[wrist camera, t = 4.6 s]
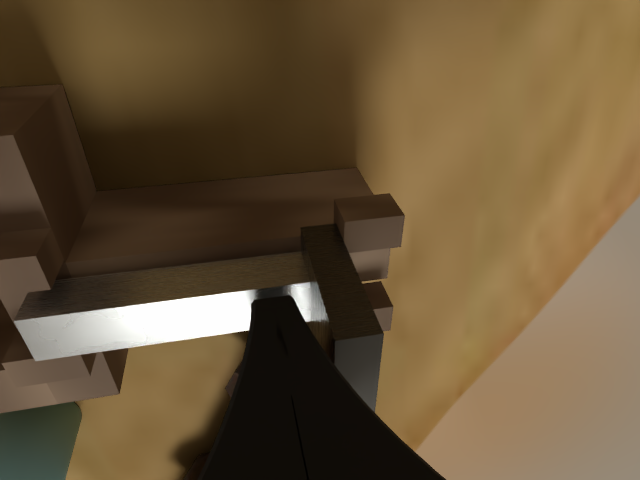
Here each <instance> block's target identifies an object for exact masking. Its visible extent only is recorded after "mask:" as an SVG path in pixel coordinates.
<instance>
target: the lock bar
mask: <svg viewBox="0 0 640 480" xmlns="http://www.w3.org/2000/svg"><path fill="white" fill-rule="evenodd" d="M300 230H301V251H296V252H288V253H279V254H271V255H262V256H254V257H246V258H237V259H229V260H220V261H212V262H204V263H195V264H187V265H178V266H170V267H162V268H153V269H145V270H136V271H128V272H120V273H111V274H103V275H94V276H86V277H78V278H69V279H61V280H55V282H54V284H53V286H52V288H51V290H43V291H35V292H28V293H27V295H26V297H25V299H24V301H23V303H22V305H21V307H20V309H19V311H18V313H17V315H16V317H15V319H14V323H15V325H16V327H17V328H18V330H19V332H20V334H21V336H22V338H23V339H24V341H25V343H26V345H27V347H28V349H29V350H30V352H31V354H32V356H33V358H34V360H35V361H41V360H48V359H55V358H62V357H69V356H76V355H82V354H89V353H96V352H103V351H110V350H117V349H124V348H130V347H137V346H144V345H151V344H158V343H165V342H172V341H179V340H185V339H192V338H199V337H206V336H213V335H220V334H227V333H233V332H240V331H247V330H249V327H250V320H251V303H252V302H253V301H254V300H256V299H263V298H271V297H278V296H285V295H290V296H292V297H293V298H294V300H295V302H296V304H297V306H298V309H299V311H300V313H301V314H302V316H303V318H304V320H305V322H306V323H307V325H308V327H309V328H310V330H311V331H312V333H313V335H314V336H315V338H316V339H317V341H318V342H319V344H320V345H321V347H322V348H323V349H324V351H325V352H326V354H327V355H328V357H329V358H330V359H331V361H332V362H333V364H334V365H335V366H336V367H337V369H338V370H339V371H340V373H341V374H342V375H343V376H344V378H345V379H346V380H347V381H348V383H349V384H350V385H351V386H352V388H353V389H354V390H355V391H356V392H357V394H358V395H359V396H360V397H361V398H362V399H363V400H364V402H365V403H366V404H367V405H368V406H369V407H370V408H371V409H372V410H373V411H374V412H375V406H376V397H377V388H378V379H379V371H380V362H381V353H382V345H383V336H384V333H383V331H382V328H381V326H380V324H379V321H378V319H377V317H376V314H375V312H374V310H373V308H372V305H371V303H370V301H369V298H368V296H367V294H366V291H365V289H364V287H363V284H362V282H361V280H360V277H359V275H358V273H357V271H356V268H355V266H354V264H353V261H352V259H351V257H350V254H349V252H348V250H347V247H346V245H345V243H344V240H343V238H342V236H341V233H340V231H339V229H338V227H337V224H336V223H334V224H325V225H316V226H307V227H300Z"/></svg>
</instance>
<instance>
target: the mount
mask: <svg viewBox="0 0 640 480" xmlns="http://www.w3.org/2000/svg"><path fill="white" fill-rule="evenodd" d="M404 218H405V215H404V214H403V212H402V211H401V209H400V208H399V206H398V205H397V203H396V202H395V200H394V199H393V198H392V196H391V195H390V193H389V194H379V195H373V193H372V191H371V190H370V188H369V186H368V185H367V183H366V182H365V180H364V178H363V177H362V175H361V174H360V172H359V170H358V169H357V168H349V169H338V170H327V171H316V172H305V173H294V174H283V175H272V176H261V177H249V178H238V179H227V180H216V181H205V182H194V183H183V184H172V185H161V186H150V187H138V188H127V189H116V190H105V191H97V190H96V187H95V184H94V181H93V178H92V175H91V171H90V168H89V165H88V162H87V159H86V156H85V153H84V150H83V147H82V144H81V141H80V137H79V134H78V131H77V128H76V125H75V122H74V119H73V116H72V113H71V110H70V107H69V103H68V100H67V97H66V94H65V91H64V88H63V85H62V84H60V85H41V86H22V87H3V88H0V413H5V412H11V411H18V410H24V409H30V408H36V407H42V406H49V405H55V404H61V403H67V402H73V401H80V400H86V399H92V398H98V397H104V396H111V395H117V394H120V389H121V384H122V379H123V373H124V368H125V363H126V358H127V353H128V348H124V349H117V350H110V351H103V352H96V353H89V354H82V355H76V356H69V357H62V358H55V359H48V360H41V361H35V360H34V358H33V356H32V354H31V352H30V350H29V349H28V347H27V345H26V343H25V341H24V339H23V338H22V336H21V334H20V332H19V330H18V328H17V327H16V325H15V323H14V319H15V317H16V315H17V313H18V311H19V309H20V307H21V305H22V303H23V301H24V299H25V297H26V295H27V293H28V292H35V291H43V290H51V288H52V286H53V284H54V282H55V280H61V279H69V278H78V277H86V276H94V275H103V274H111V273H120V272H128V271H136V270H145V269H153V268H162V267H170V266H178V265H187V264H195V263H204V262H212V261H220V260H229V259H237V258H246V257H254V256H262V255H271V254H279V253H288V252H296V251H301V230H300V227H307V226H316V225H325V224H334V223H336V224H337V227H338V229H339V231H340V233H341V236H342V238H343V240H344V243H345V245H346V247H347V250H348V252H349V254H350V257H351V259H352V261H353V264H354V266H355V268H356V271H357V273H358V275H359V277H360V280H361V282H362V281H369V280H377V279H384V278H387V275H388V265H389V256H390V248H395V247H401V241H402V233H403V225H404ZM363 287H364V289H365V291H366V294H367V296H368V298H369V301H370V303H371V305H372V308H373V310H374V312H375V314H376V317H377V319H378V321H379V324H380V326H381V328H382V331H389V330H390V329H391V321H392V313H393V305H392V303H391V301H390V299H389V297H388V295H387V293H386V291H385V289H384V287H383V285H382V283H381V281H379V282H372V283H365V284H363Z"/></svg>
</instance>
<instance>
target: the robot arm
mask: <svg viewBox="0 0 640 480" xmlns="http://www.w3.org/2000/svg"><path fill="white" fill-rule="evenodd" d="M198 480H446V479H445V478H444V477H442V476H441V475H440V474H439V473H438V472H436V471H435V470H434V469H433V468H432V467H431V466H430V465H429V464H428V463H426V462H425V461H424V460H423V459H422V458H421V457H420V456H418V454H416V453H415V452H414V451H413V450H412V449H411V448H410V447H409V446H408V445H407V444H405V443H404V442H403V441H402V440H401V439H400V438H399V437H398V436H397V435H396V434H395V433H394V432H393V431H392V430H391V429H390V428H389V427H388V426H387V425H386V424H385V423H384V422H383V421H382V420H381V419H380V418H379V417H378V416H377V415H376V414H375V412H374V411H373V410H372V409H371V408H370V407H369V406H368V405H367V404H366V403H365V402H364V400H363V399H362V398H361V397H360V396H359V395H358V394H357V392H356V391H355V390H354V389H353V388H352V386H351V385H350V384H349V383H348V381H347V380H346V379H345V378H344V376H343V375H342V374H341V373H340V371H339V370H338V369H337V367H336V366H335V365H334V364H333V362H332V361H331V359H330V358H329V357H328V355H327V354H326V352H325V351H324V349H323V348H322V347H321V345H320V344H319V342H318V341H317V339H316V338H315V336H314V335H313V333H312V331H311V330H310V328H309V327H308V325H307V323H306V322H305V320H304V318H303V316H302V314H301V313H300V311H299V309H298V306H297V304H296V302H295V300H294V298H293V297H292V296H290V295H285V296H278V297H271V298H263V299H256V300H254V301H253V302H252V303H251V320H250V327H249V333H248V339H247V344H246V348H245V352H244V356H243V360H242V364H241V368H240V372H239V375H238V378H237V382H236V385H235V388H234V391H233V394H232V397H231V400H230V403H229V406H228V409H227V411H226V414H225V417H224V420H223V422H222V425H221V427H220V430H219V432H218V435H217V437H216V440H215V442H214V444H213V447H212V449H211V451H210V454H209V456H208V458H207V460H206V462H205V465H204V467H203V469H202V471H201V473H200V475H199V478H198Z"/></svg>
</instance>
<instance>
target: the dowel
mask: <svg viewBox="0 0 640 480" xmlns="http://www.w3.org/2000/svg"><path fill="white" fill-rule="evenodd" d="M81 418H82V414H81V410H80V408H79V407H78V405H77V404H76V403H75V402H67V403H61V404H55V405H49V406H42V407H36V408H30V409H24V410H18V411H11V412H5V413H0V480H65V478H66V475H67V471H68V467H69V463H70V460H71V456H72V452H73V448H74V445H75V441H76V437H77V433H78V430H79V426H80V422H81Z"/></svg>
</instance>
